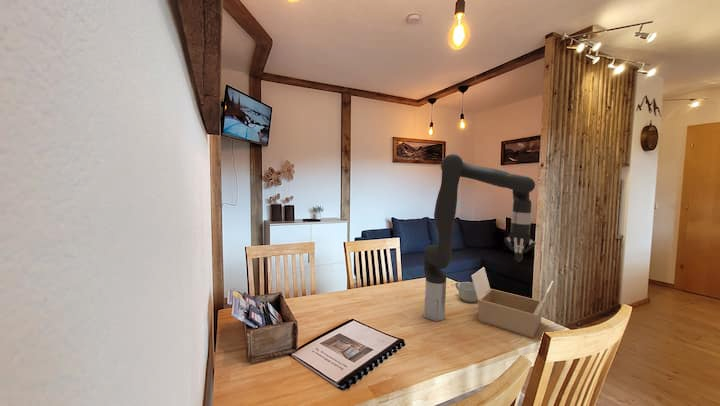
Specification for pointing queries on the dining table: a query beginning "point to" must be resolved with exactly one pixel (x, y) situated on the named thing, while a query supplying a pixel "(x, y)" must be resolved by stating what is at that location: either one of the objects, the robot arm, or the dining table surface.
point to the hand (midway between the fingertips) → (518, 260)
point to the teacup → (466, 291)
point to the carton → (510, 312)
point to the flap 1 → (480, 282)
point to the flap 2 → (544, 298)
